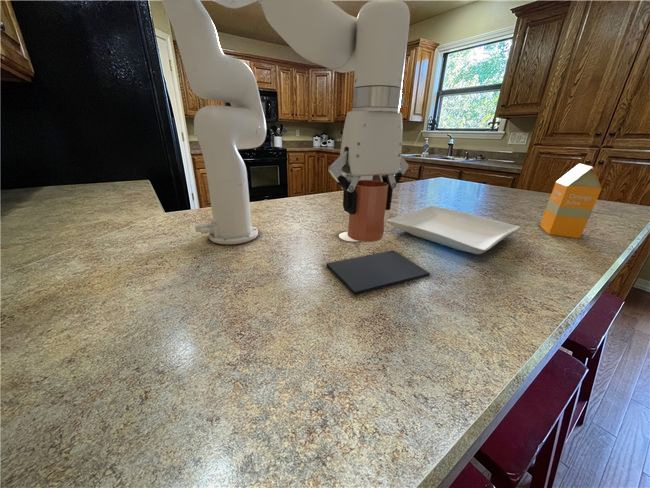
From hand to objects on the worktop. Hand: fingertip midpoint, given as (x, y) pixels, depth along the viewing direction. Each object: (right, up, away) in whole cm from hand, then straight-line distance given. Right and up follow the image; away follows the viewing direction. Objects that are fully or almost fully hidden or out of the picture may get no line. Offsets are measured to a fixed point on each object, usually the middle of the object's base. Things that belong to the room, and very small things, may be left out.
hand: (367, 209), depth 50 cm
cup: (0, -5, +2) cm, 5 cm away
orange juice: (+64, -3, +33) cm, 72 cm away
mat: (+3, -12, +7) cm, 14 cm away
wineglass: (0, -4, +25) cm, 25 cm away
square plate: (+29, -4, +28) cm, 41 cm away
